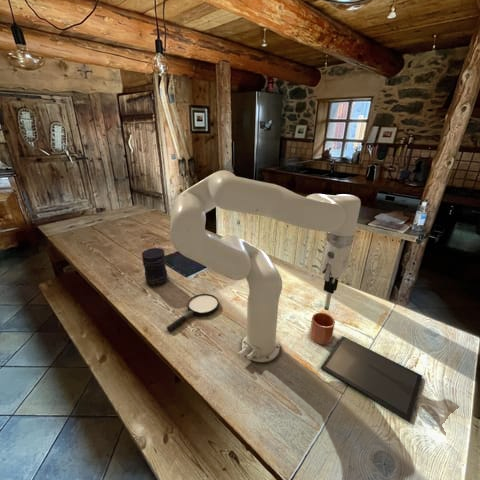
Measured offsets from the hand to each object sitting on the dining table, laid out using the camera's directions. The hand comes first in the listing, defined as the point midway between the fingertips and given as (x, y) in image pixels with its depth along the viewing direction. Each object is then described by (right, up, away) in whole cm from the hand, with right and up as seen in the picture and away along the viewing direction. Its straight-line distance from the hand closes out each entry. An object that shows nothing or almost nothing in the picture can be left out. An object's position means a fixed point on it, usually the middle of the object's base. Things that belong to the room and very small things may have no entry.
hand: (329, 290), depth 85 cm
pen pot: (0, -18, +9) cm, 20 cm away
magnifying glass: (-47, -13, +19) cm, 53 cm away
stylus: (0, -7, +3) cm, 8 cm away
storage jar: (-68, -4, +41) cm, 79 cm away
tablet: (+11, -24, -4) cm, 27 cm away
